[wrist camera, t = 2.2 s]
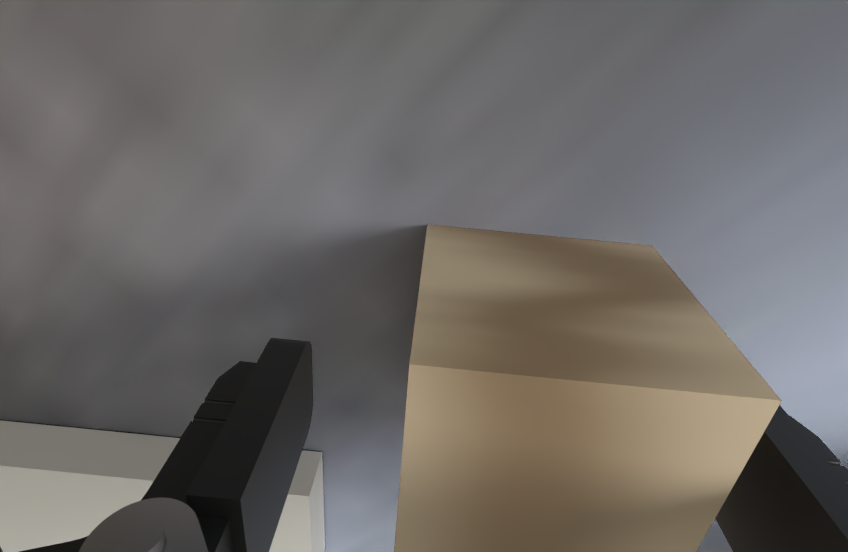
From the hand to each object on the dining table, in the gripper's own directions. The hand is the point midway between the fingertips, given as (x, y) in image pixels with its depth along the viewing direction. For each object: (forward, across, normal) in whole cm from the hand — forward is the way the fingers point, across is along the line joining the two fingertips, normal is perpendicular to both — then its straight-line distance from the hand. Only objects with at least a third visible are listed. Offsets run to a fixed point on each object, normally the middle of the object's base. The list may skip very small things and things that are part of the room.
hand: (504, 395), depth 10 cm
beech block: (+3, -1, 0) cm, 3 cm away
